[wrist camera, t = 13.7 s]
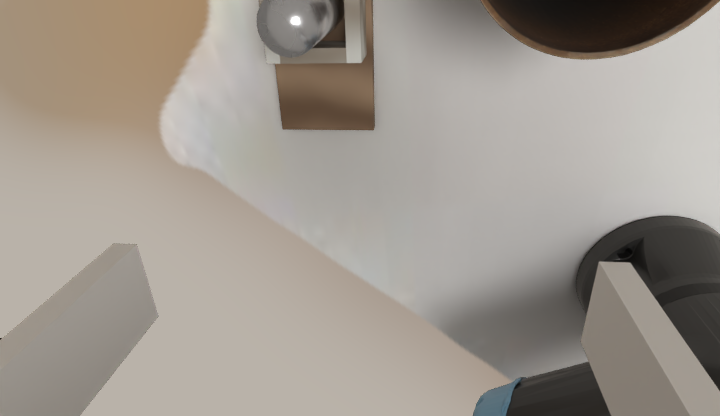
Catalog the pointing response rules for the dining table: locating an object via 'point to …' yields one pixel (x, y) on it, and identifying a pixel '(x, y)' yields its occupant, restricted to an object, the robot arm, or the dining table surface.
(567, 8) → the plant pot
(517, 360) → the dining table surface
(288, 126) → the socket board
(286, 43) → the pin
